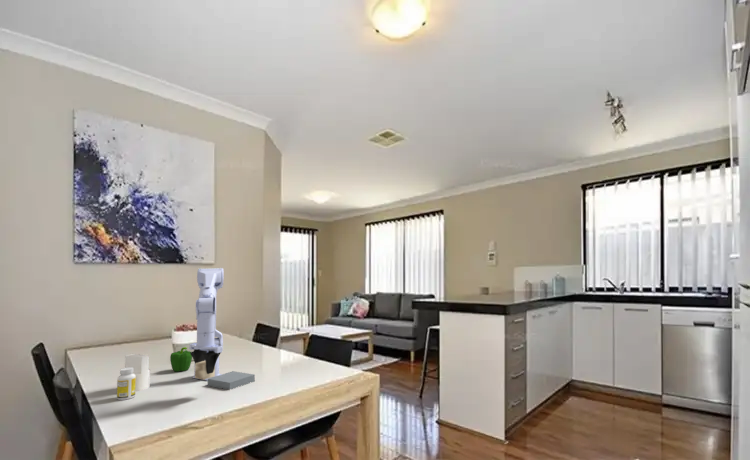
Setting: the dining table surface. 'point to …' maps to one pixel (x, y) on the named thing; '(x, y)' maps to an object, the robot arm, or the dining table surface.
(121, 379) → the supplement bottle
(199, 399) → the dining table surface
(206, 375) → the ash block
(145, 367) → the base with upright slab
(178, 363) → the bell pepper
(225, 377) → the slate plinth
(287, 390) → the dining table surface
